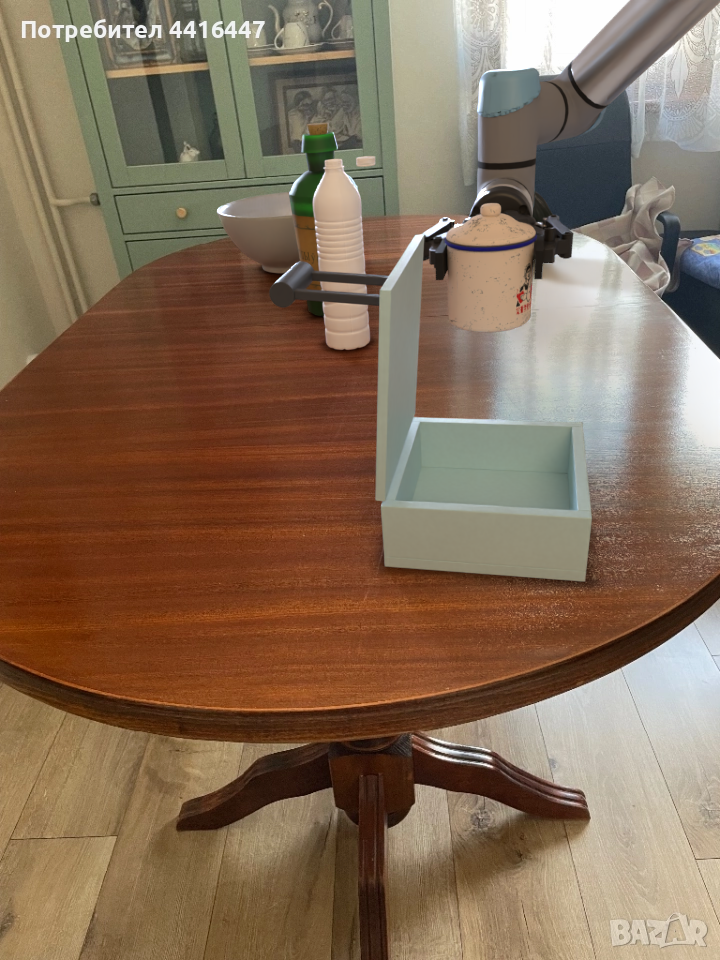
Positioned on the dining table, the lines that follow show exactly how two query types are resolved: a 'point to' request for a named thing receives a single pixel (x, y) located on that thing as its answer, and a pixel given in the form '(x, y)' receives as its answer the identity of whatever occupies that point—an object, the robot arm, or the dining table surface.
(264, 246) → the decorative bowl
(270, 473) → the dining table surface
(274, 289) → the lid
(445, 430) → the pale green box base
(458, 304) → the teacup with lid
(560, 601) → the dining table surface
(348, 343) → the water bottle
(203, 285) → the dining table surface
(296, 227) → the bottle
